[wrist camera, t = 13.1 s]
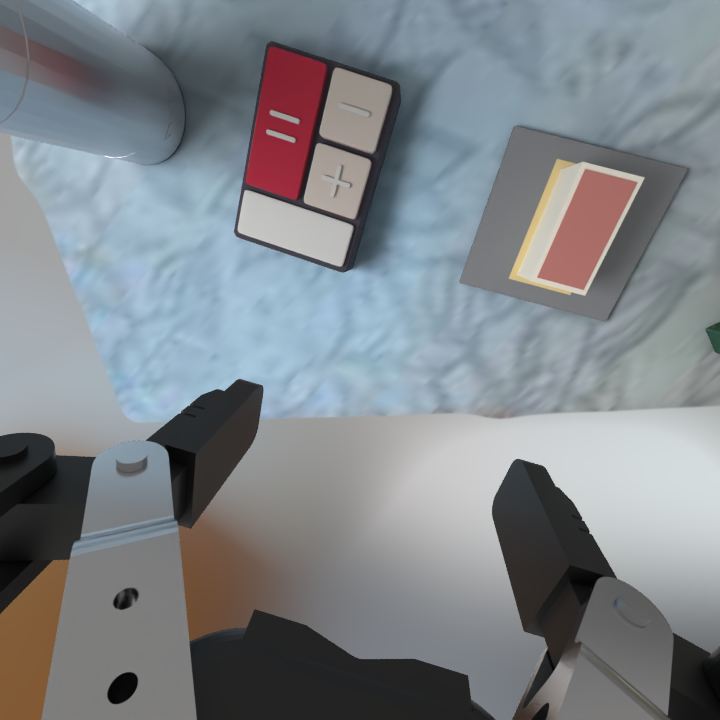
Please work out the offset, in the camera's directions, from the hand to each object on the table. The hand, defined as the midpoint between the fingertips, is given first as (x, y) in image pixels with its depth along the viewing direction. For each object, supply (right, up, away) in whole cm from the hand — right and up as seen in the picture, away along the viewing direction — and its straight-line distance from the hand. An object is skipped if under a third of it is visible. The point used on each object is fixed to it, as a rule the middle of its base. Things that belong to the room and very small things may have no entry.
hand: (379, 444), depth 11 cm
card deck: (+17, +14, +20) cm, 29 cm away
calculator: (-4, +20, +22) cm, 30 cm away
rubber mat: (+17, +14, +20) cm, 30 cm away
